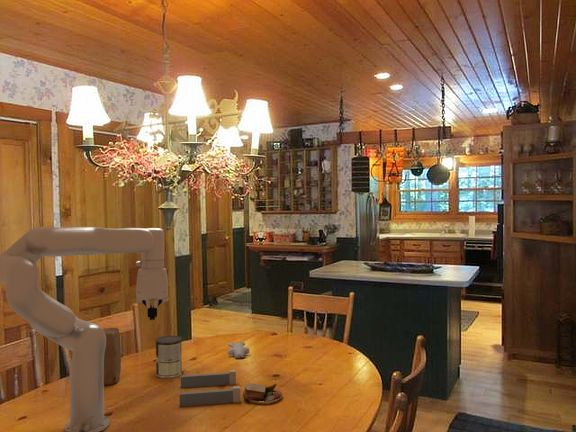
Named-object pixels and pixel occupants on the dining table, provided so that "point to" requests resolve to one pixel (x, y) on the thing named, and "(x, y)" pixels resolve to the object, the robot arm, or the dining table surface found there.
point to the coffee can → (168, 356)
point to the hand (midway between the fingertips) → (152, 319)
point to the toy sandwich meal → (261, 393)
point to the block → (112, 356)
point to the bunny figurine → (238, 350)
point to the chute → (209, 396)
